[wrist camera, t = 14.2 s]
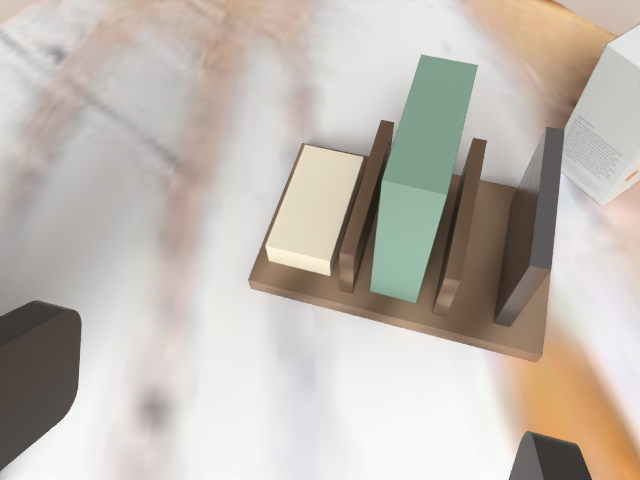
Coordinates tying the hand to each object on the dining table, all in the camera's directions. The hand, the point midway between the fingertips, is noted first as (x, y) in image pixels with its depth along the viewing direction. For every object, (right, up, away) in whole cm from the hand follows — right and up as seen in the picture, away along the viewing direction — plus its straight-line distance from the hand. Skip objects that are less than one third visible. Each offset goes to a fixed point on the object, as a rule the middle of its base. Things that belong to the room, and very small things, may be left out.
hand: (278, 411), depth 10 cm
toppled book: (0, +5, +36) cm, 36 cm away
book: (+8, +3, +34) cm, 35 cm away
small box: (+26, +10, +39) cm, 48 cm away
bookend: (+15, +1, +33) cm, 36 cm away
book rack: (+8, +2, +36) cm, 37 cm away
